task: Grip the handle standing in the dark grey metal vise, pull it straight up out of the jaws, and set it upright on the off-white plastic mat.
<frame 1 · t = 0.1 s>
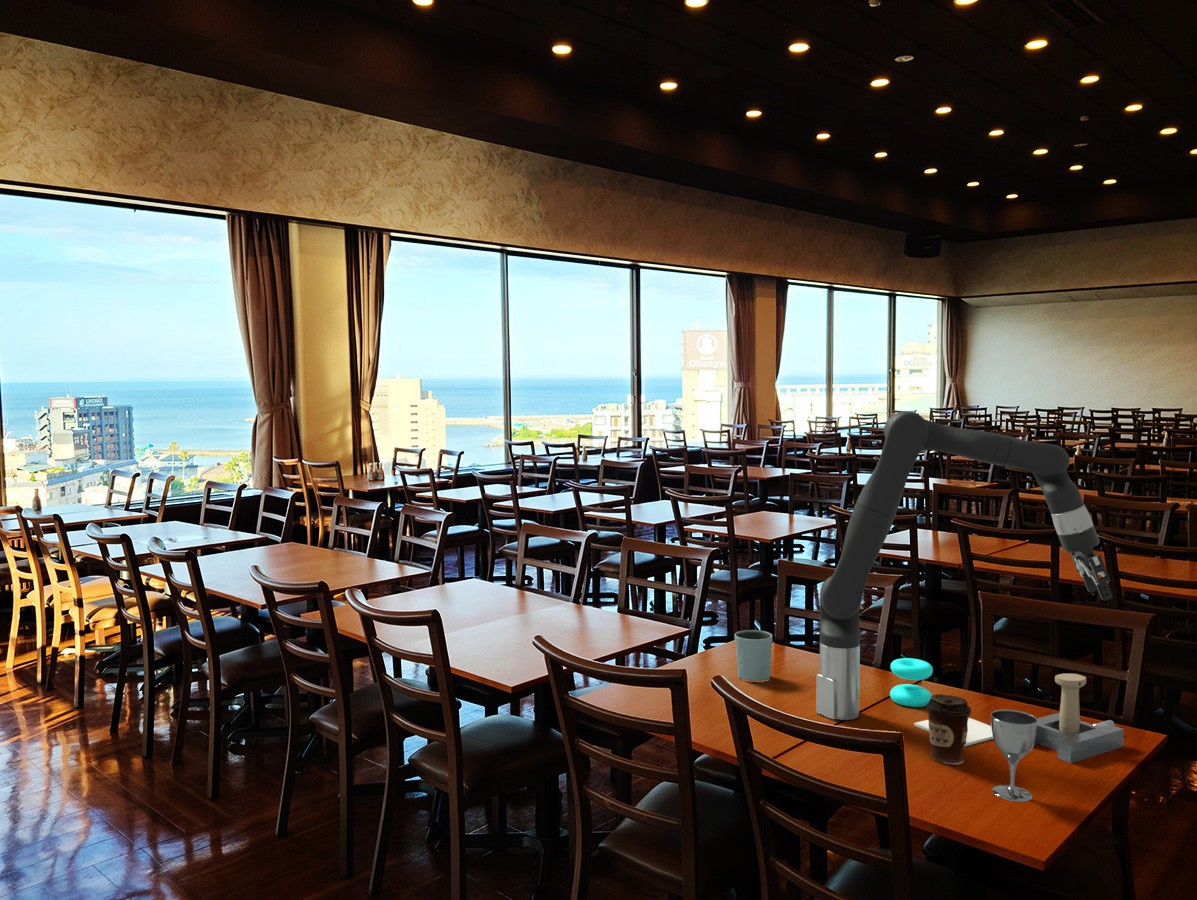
hand: (1100, 595, 197), 31 cm above the table, tool tilted 20°, fingers open, 8 cm apart
mat: (960, 730, 200), on the table
grey-green tapered cup: (753, 678, 238), on the table
coffee cup: (946, 760, 184), on the table
vise: (1068, 744, 191), on the table
wine glass: (1012, 794, 168), on the table
donuts: (910, 702, 219), on the table
handle: (1068, 745, 191), resting in vise
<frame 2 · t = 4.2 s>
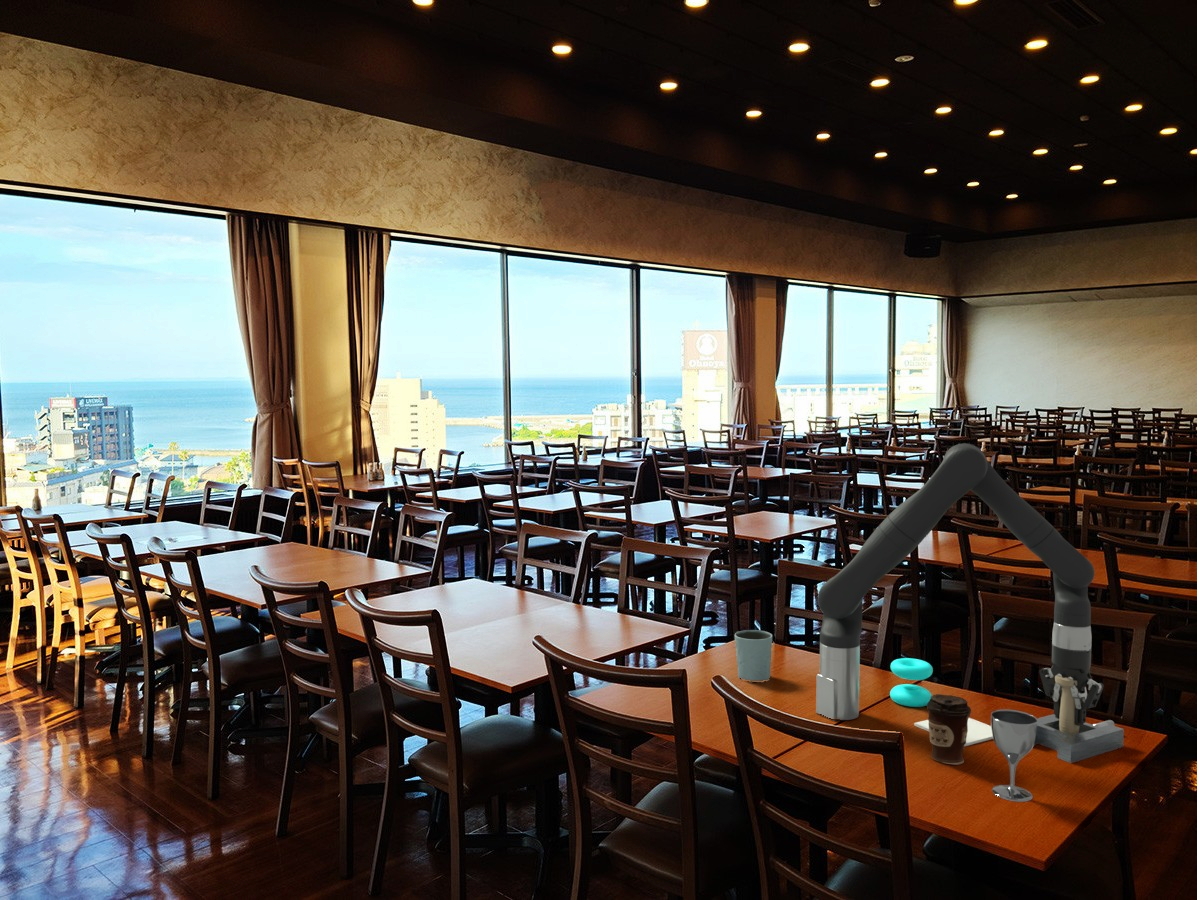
hand: (1069, 721, 191), 5 cm above the table, tool pointing down, fingers closed on handle, 4 cm apart
handle: (1068, 745, 191), resting in vise, touching gripper
everything else where it was.
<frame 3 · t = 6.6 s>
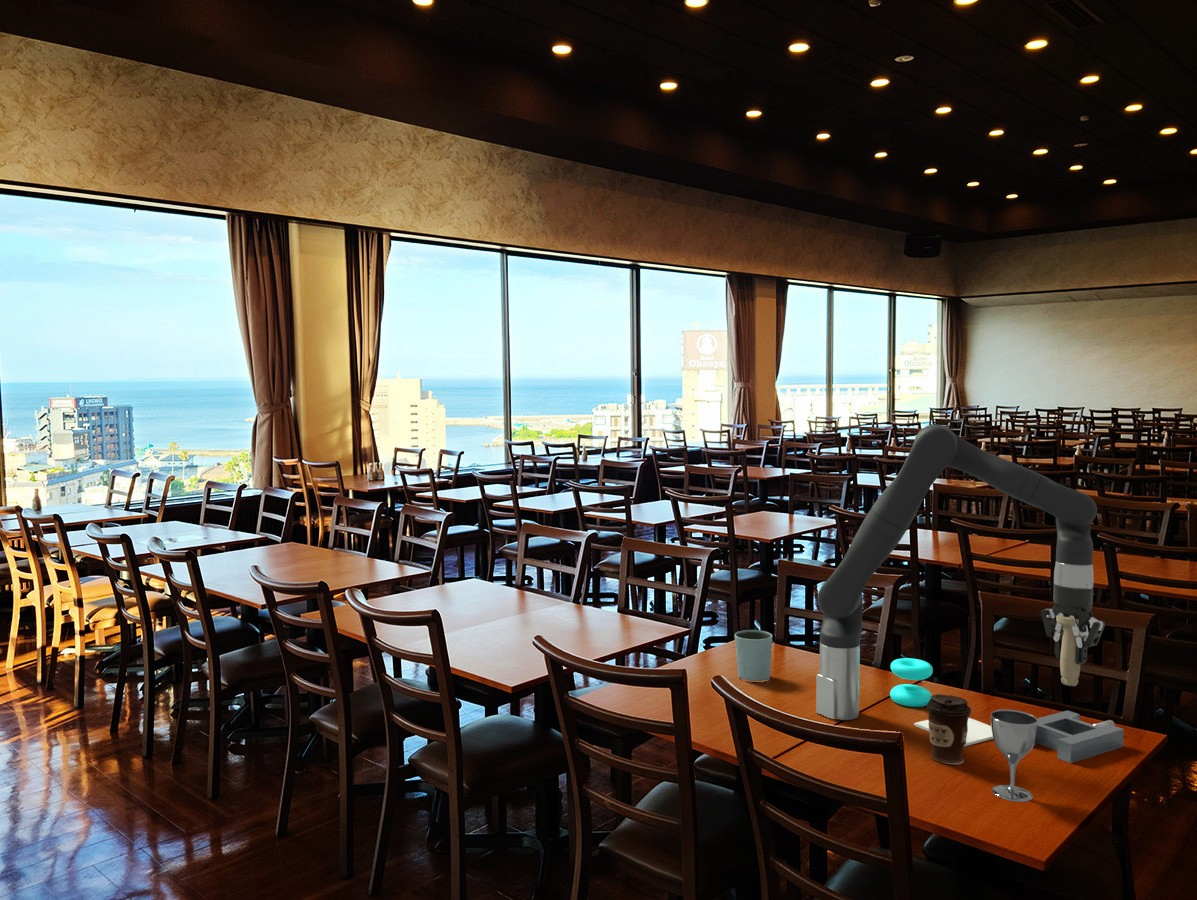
hand: (1070, 660, 190), 19 cm above the table, tool pointing down, fingers closed on handle, 4 cm apart
handle: (1069, 685, 191), point 13 cm above the table, touching gripper
everything else where it was.
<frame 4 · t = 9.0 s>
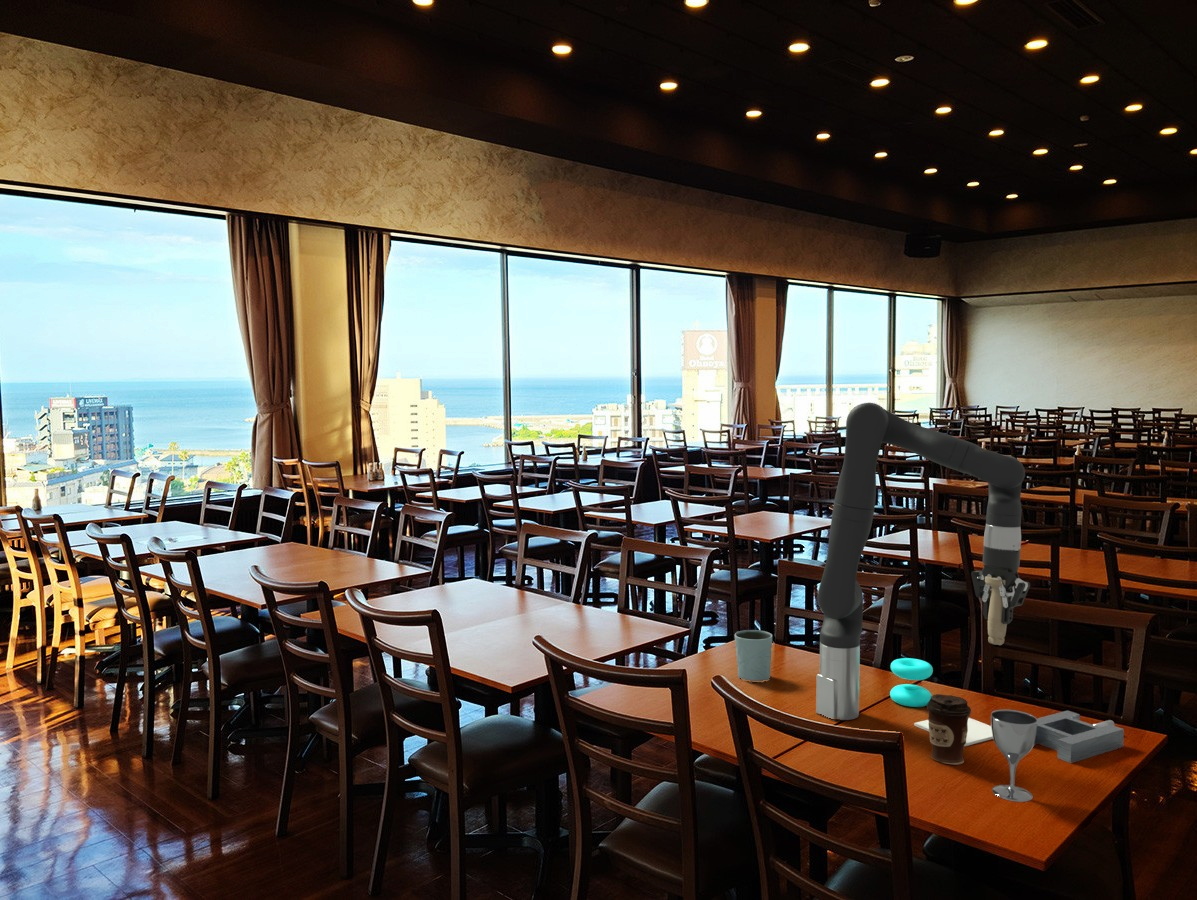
hand: (997, 620, 196), 26 cm above the table, tool pointing down, fingers closed on handle, 4 cm apart
handle: (995, 644, 196), point 21 cm above the table, touching gripper
everything else where it was.
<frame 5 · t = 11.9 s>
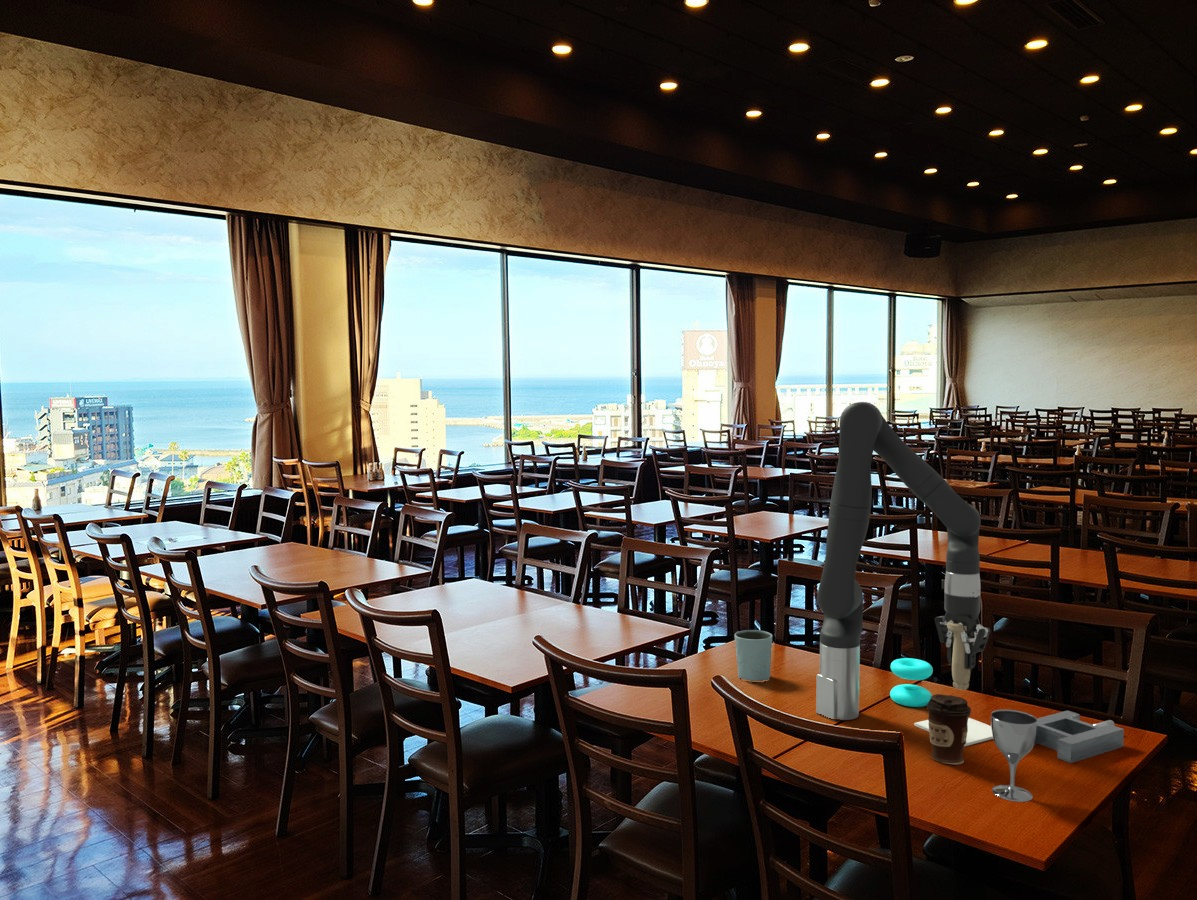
hand: (961, 665, 199), 15 cm above the table, tool pointing down, fingers closed on handle, 4 cm apart
handle: (960, 689, 199), point 10 cm above the table, touching gripper
everything else where it was.
when the fingers open (7 cm above the table, at t = 14.2 s): handle drops 1 cm, resting on mat.
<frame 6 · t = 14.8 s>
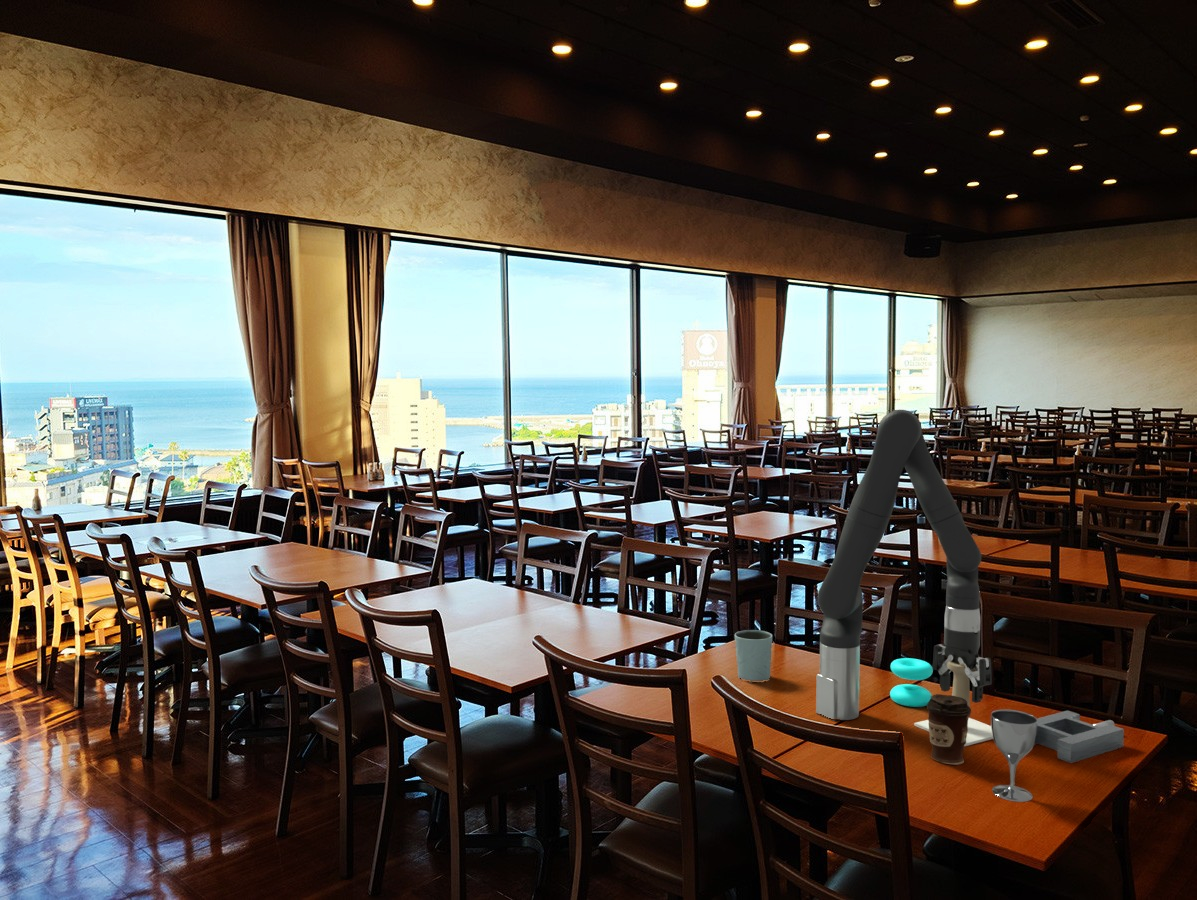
hand: (960, 696, 200), 8 cm above the table, tool pointing down, fingers open, 8 cm apart
handle: (959, 728, 200), resting on mat
everything else where it was.
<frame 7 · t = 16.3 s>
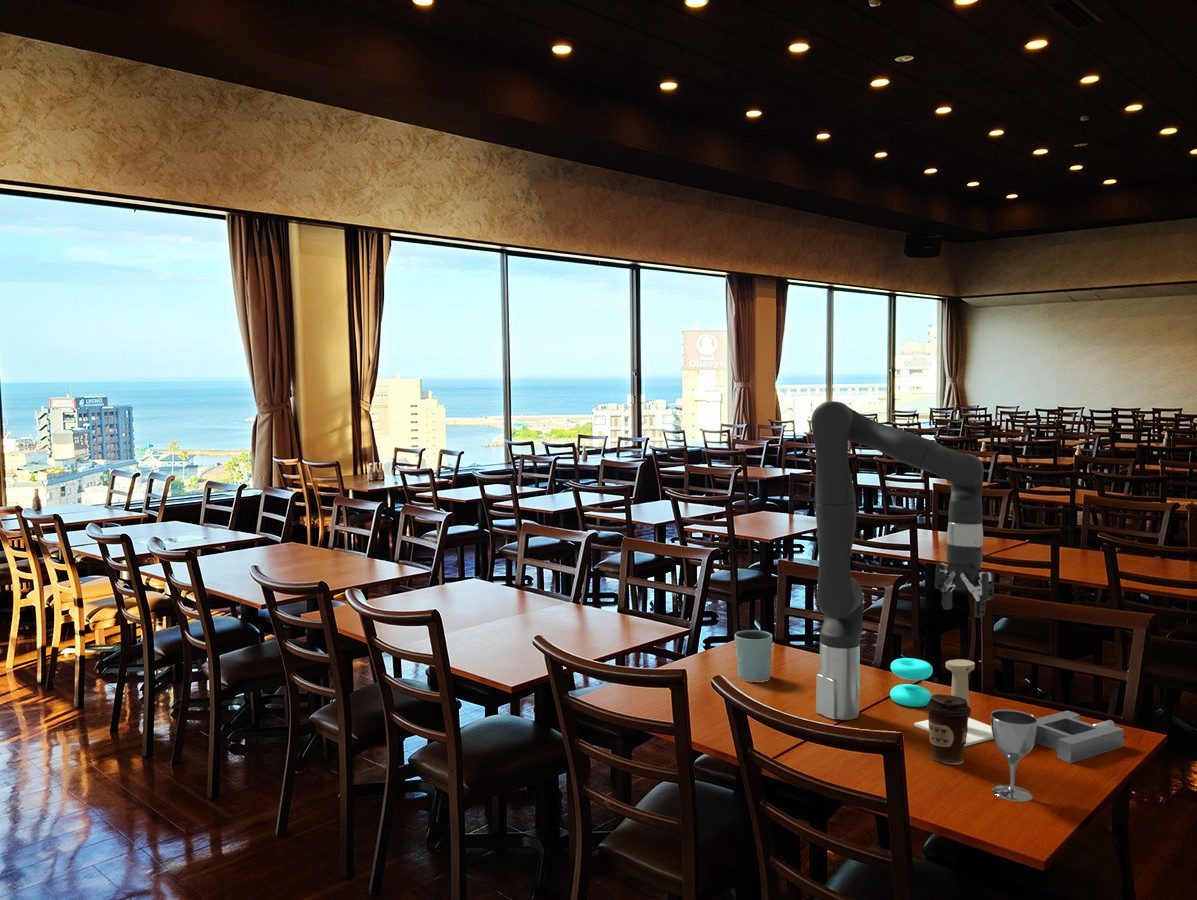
hand: (962, 613, 198), 27 cm above the table, tool pointing down, fingers open, 8 cm apart
nothing on the table moved.
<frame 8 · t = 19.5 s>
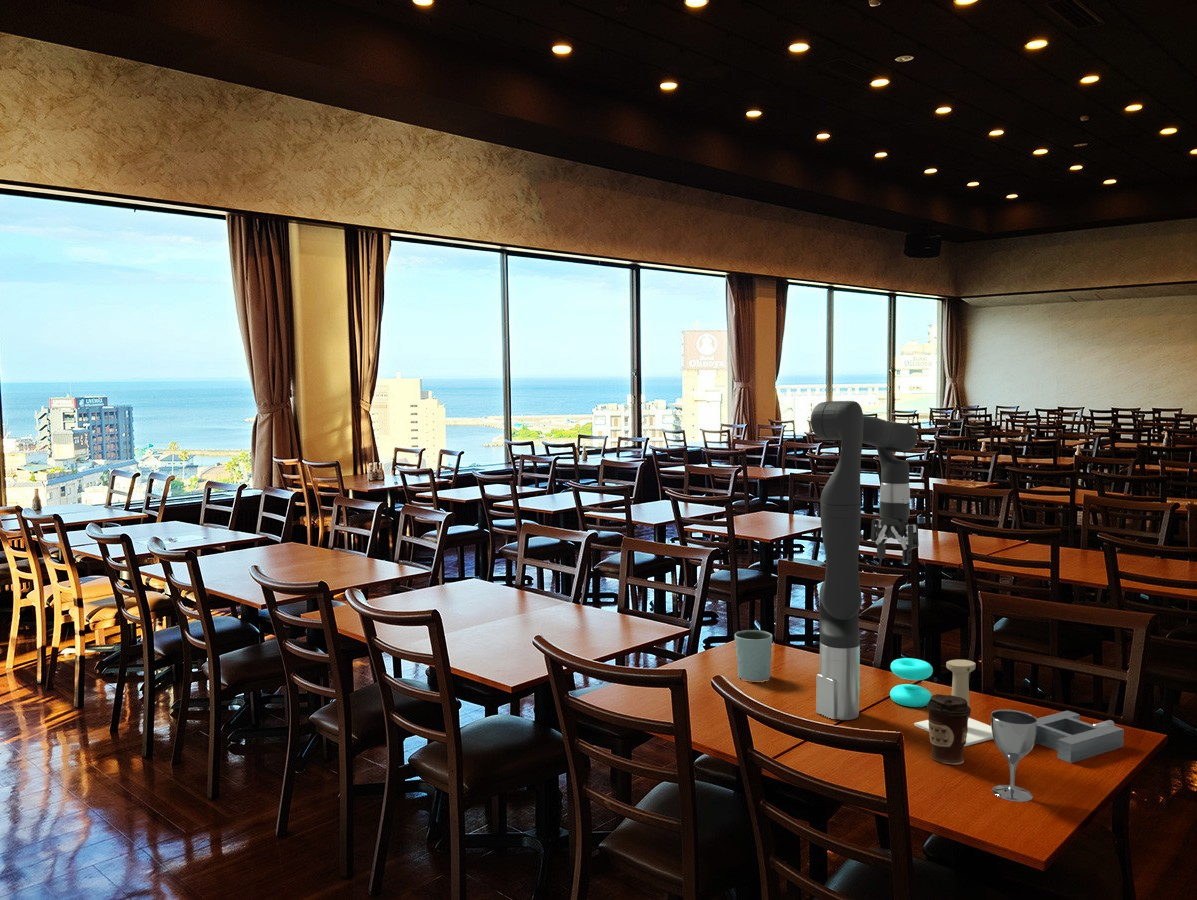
hand: (893, 561, 231), 33 cm above the table, tool pointing down, fingers open, 8 cm apart
nothing on the table moved.
at the end: handle inside the target area on the mat (0.1 cm from its centre), point 0.4 cm above the mat's base; handle tilted 0°; handle touching mat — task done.
